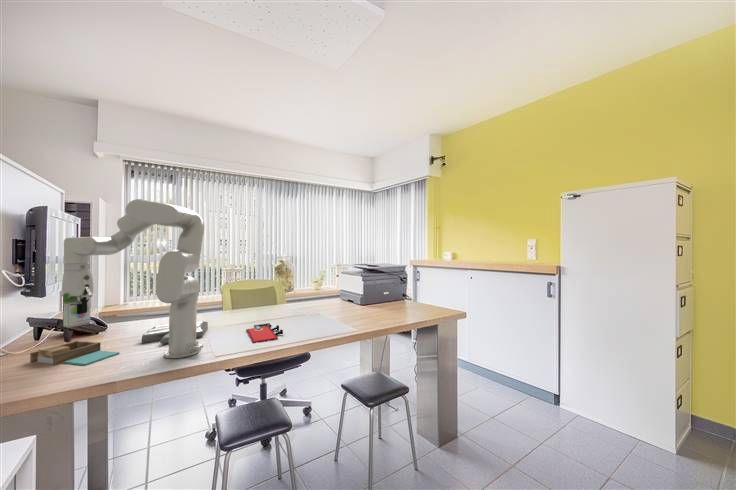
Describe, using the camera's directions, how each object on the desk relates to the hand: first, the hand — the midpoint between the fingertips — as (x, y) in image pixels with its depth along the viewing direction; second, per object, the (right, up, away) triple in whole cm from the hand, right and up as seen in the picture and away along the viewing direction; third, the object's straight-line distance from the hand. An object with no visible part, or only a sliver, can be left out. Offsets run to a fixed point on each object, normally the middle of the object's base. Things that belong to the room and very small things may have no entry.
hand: (77, 312), depth 117 cm
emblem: (+24, -18, +26) cm, 39 cm away
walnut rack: (-1, -17, -3) cm, 17 cm away
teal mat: (+11, -17, -4) cm, 20 cm away
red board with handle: (+64, -18, +32) cm, 74 cm away
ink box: (0, -5, 0) cm, 5 cm away
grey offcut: (-2, -17, -7) cm, 18 cm away
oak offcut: (-2, -14, -7) cm, 16 cm away
